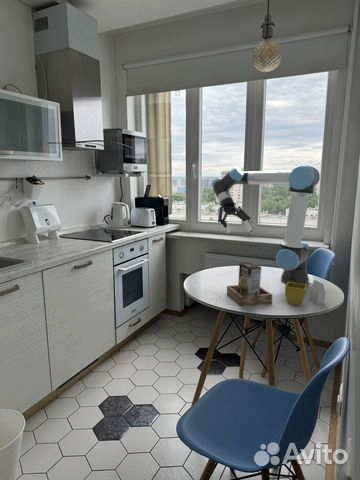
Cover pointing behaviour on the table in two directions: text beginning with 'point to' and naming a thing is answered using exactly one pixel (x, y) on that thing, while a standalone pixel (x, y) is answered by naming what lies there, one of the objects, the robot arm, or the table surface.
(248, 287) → the coffee box
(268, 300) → the tray
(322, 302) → the grey block
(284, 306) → the table surface
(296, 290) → the flower pot
